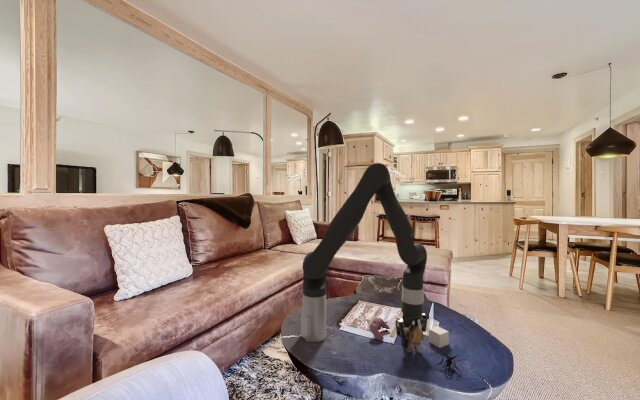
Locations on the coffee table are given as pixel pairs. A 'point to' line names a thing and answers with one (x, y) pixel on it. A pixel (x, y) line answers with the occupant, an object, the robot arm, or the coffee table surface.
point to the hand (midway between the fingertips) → (411, 345)
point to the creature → (448, 363)
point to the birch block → (399, 317)
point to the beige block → (438, 336)
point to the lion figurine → (415, 338)
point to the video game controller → (378, 327)
